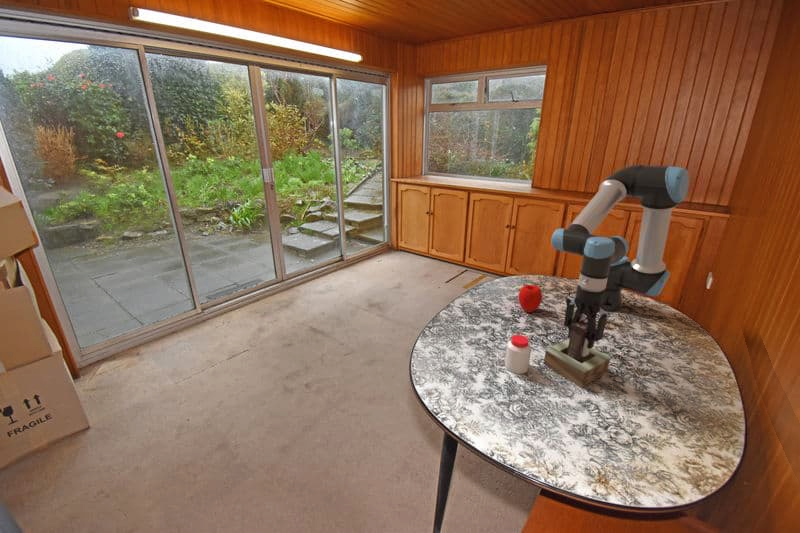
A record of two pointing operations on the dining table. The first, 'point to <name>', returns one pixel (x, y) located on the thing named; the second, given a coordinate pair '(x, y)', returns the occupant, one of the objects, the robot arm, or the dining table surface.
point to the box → (577, 339)
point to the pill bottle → (518, 354)
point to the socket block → (576, 364)
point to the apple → (530, 297)
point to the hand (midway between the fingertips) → (578, 351)
